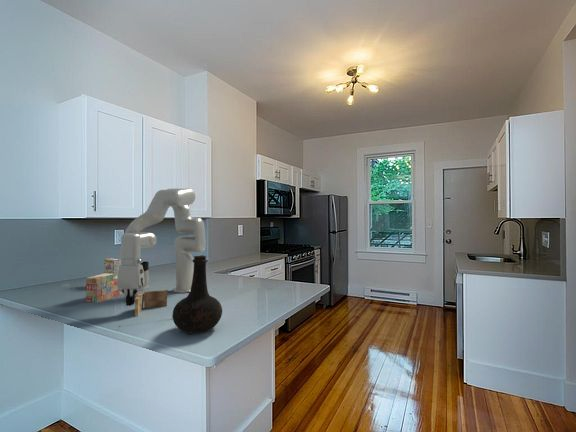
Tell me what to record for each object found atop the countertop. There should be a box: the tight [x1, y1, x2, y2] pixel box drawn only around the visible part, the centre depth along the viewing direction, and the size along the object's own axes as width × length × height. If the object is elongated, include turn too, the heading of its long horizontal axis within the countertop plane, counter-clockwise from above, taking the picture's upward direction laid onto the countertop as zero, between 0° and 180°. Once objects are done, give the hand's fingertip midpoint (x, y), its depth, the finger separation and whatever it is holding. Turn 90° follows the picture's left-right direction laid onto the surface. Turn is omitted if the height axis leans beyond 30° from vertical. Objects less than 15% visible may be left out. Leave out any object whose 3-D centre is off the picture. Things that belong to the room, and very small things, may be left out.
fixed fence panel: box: [142, 289, 168, 310], centre depth 142 cm, size 12×2×8 cm, turn 116°
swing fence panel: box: [134, 292, 144, 317], centre depth 133 cm, size 10×2×7 cm, turn 17°
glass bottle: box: [171, 255, 223, 334], centre depth 117 cm, size 18×18×28 cm
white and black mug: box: [140, 261, 150, 290], centre depth 181 cm, size 9×14×15 cm, turn 167°
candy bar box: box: [103, 257, 121, 276], centre depth 186 cm, size 11×5×16 cm, turn 58°
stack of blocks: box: [85, 273, 124, 303], centre depth 161 cm, size 21×6×12 cm, turn 169°
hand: (130, 304), depth 132 cm, fingers closed
